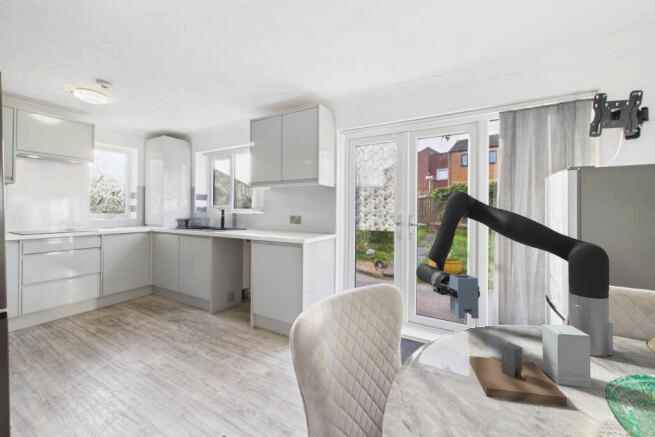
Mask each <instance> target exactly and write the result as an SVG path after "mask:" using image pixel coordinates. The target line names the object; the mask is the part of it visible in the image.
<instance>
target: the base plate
mask: <svg viewBox="0 0 655 437" xmlns="http://www.w3.org/2000/svg"><path fill="white" fill-rule="evenodd" d="M469 364H470V367H471V368H472V370H473V372H474V374H475V376H476V379H477V380H478V382H479V384H480V386H481V388H482V390H483V392H484V394H485V396H486V397H488V398H489V397H490V398H496V399H504V400H512V401H520V402H530V403H536V404H545V405H551V406H559V407H560V406H561V407H568V396H566V394H564V393H563V392H562V390H560V389H559V387H558V386H557V385H556V384H555V383H554V382H553V381H552V380H551V379H550V378H549V377H548V375H547V374H545V372H544V371H543V370H541V369H540V368H539V366H538V365H536V363H535V362H533V361H526V360H524V361H523V360H522V370H525V371H526V380H525V381H524V380H521V379H520V377H517V378H515V379H514V378H512V377H510V376H508V375H506V374H504V373H502V358H494V357H492V358H491V357H484V356H473V355H469Z"/></svg>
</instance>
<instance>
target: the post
mask: <svg viewBox="0 0 655 437" xmlns="http://www.w3.org/2000/svg"><path fill="white" fill-rule="evenodd" d="M501 359H502V373H504V374H506V375H508V376H510V377H512V378H514V379H515V378H517V377H520V379H521V380H524V381H525V380H526V371H525V370H522V361H523V347H522V346H520V345H517V344H514V343H511V342H507V343H503V344H501Z"/></svg>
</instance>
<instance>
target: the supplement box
mask: <svg viewBox="0 0 655 437" xmlns="http://www.w3.org/2000/svg"><path fill="white" fill-rule="evenodd" d="M541 329H542V330H541V331H542V333H541V334H542V339H541V340H542V372H543V373H546V375H547V376H549V377H550V378H551V379H552V380H553V381H554V382H555V383H556V384H558V385H562V386H563V385H565V386H573V387H582V388H583V387H584V388H591V355H590V336H589V335H587V334H585V333H584V332H582V331H580V330H578V329H576V328H575V327H573V326H569V325H565V324H563V325H562V324H547V323H545V324H544V323H543V324H542V328H541Z"/></svg>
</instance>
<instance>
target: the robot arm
mask: <svg viewBox="0 0 655 437" xmlns="http://www.w3.org/2000/svg"><path fill="white" fill-rule="evenodd" d="M463 217H464V218H467V219H469V220H473V221H475V222H478V223H480V224H482V225H484V226H486V227H487V228H489V229H490V230H492V231H494V232H495V233H497V234H499V235H501V236H503V237H505V238H507V239H509V240H511V241H513V242H517V243H519V244H521V245H525V246H526V247H530V248H534V249H537V250H540V251H544V252H547V253H550V254H552V255H554V256H556V257H559V258H560V259H562V260H564V261H566V262H567V263H568V265H567V266H568V301H569V302H568V305H569V307H568V314H569V316H568V317H569V318H568V320H569V324H568V326H573V327H575V328H576V329H578V330H580V331H582V332H584V333H585V334H587V335H589V336H590V356H592V357H593V356H594V357H602V358H603V357H608V356H607V355H609V356H611V355H613V356H614V345H613V344H614V339H613V338H614V336H613V335H614V325H613V323H612V322H610V298H609V297H610V295H609V294H610V256H609V255H608V253H607V251H606V250H605V249H604V248H602V247H601V246H600V245H598V244H596V243H592V242H587V241H585V240H582V239H577V238H574V237H571V236H569V235H566V234H563V233H560V232H558V231H556V230H554V229H552V228H550V227H548V226H546V225H544V224H542V223H540V222H538V221H535V220H534V219H531V218H530V217H526V216H524V215H522V214H519V213H517V212H513V211H510V210H506V209H503V208H500V207H499V208H498V207H494V206H491V205H489V204H486V203H484V202H482V201H480V200H478V199H477V198H474V197H473V196H471V195H470V194H468V193H466V192H465V191H460V190H459V191H455V192H453V193H451V194H450V195H449V196H448V198H447V200H446V204H445V209H444V212H443V216H442V219H441V223H440V226H439V229H438V230H437V234H436V236H435V239H434V240H433V244H432V246H431V247H430V250H429V252H428V254H427V256H428V259H429V260H431V262H434V263H435V266H432V265H430V264H428V263H422V264H420V265H418V267H417V268H416V271H415V272H416V273H415V274H416V277H417V279H418V280H419V281H421V282H424V283H426V284H429V285H430V286H432V287H433V288H432V289H433V292H435V293H437V294H438V295H440V296H447V297H450V296H452V297H454V298H457V291H456V290H454V289H452V288H451V287H450V275H453V274H452V273H450V272H448V271H445V266H446V261H447V258H448V256H449V254H450V252H451V249H452V246H453V243H454V240H455V235H456V230H457V228H458V226H459V223H460V221H461V219H462V218H463ZM480 297H481V291H480V286H479V285H478V299H479V298H480Z"/></svg>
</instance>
